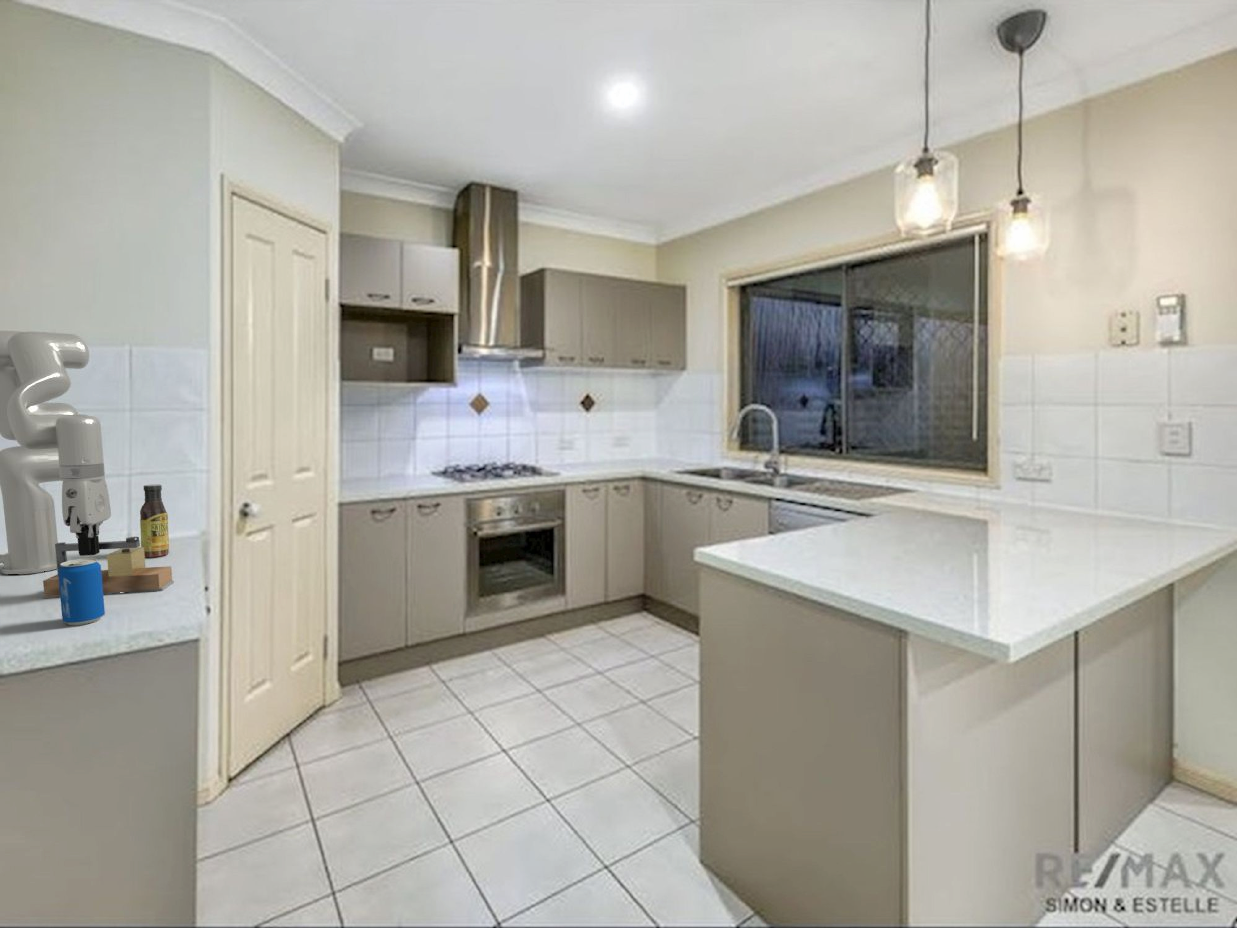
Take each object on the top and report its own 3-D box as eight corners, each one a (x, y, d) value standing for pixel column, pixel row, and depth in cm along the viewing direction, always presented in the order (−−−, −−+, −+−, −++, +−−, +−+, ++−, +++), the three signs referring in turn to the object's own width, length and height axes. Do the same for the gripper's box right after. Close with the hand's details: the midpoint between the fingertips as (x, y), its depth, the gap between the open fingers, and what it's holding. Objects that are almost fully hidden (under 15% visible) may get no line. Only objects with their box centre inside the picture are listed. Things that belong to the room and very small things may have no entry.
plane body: (42, 598, 141) (40, 581, 140) (61, 589, 147) (59, 572, 147) (161, 591, 146) (160, 574, 146) (174, 582, 153) (173, 566, 153)
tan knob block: (108, 576, 144) (106, 553, 143) (122, 569, 150) (120, 546, 149) (132, 575, 145) (130, 551, 144) (145, 567, 151) (143, 545, 150)
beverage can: (53, 625, 124) (48, 565, 123) (86, 614, 131) (81, 557, 129) (82, 627, 123) (77, 566, 122) (113, 616, 130) (108, 558, 128)
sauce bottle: (155, 559, 175) (149, 487, 173) (136, 557, 176) (130, 486, 174) (176, 553, 181) (171, 483, 179) (157, 552, 182) (152, 483, 180)
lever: (55, 576, 143) (52, 542, 142) (61, 573, 145) (58, 540, 144) (138, 571, 147) (136, 538, 146) (143, 568, 149) (140, 536, 148)
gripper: (83, 476, 134) (90, 562, 136) (119, 468, 148) (125, 545, 150) (40, 477, 132) (48, 564, 134) (81, 469, 146) (88, 547, 148)
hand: (89, 554), depth 142 cm, fingers closed
